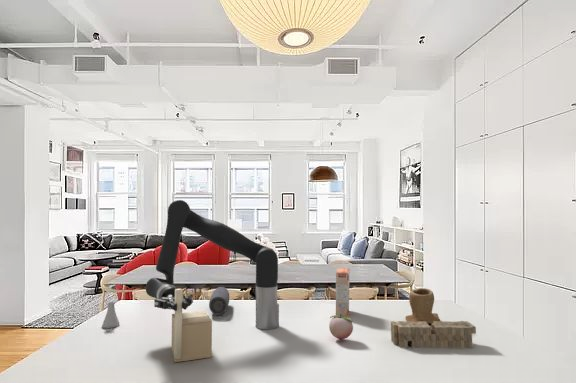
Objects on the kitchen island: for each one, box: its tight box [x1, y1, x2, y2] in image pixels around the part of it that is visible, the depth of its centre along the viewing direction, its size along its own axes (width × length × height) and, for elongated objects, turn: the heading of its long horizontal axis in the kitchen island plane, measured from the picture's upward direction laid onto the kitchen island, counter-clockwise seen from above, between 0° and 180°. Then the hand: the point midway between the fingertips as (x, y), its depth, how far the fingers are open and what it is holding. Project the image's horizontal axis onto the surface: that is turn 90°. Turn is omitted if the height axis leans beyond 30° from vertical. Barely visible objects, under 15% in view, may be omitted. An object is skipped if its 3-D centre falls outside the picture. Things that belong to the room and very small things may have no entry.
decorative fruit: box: [328, 314, 354, 341], centre depth 150 cm, size 9×8×10 cm
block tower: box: [390, 320, 477, 349], centre depth 146 cm, size 8×8×29 cm
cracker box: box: [335, 267, 350, 318], centre depth 187 cm, size 14×6×21 cm, turn 168°
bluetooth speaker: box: [208, 286, 230, 315], centre depth 193 cm, size 23×9×10 cm, turn 6°
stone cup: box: [404, 287, 441, 325], centre depth 172 cm, size 15×12×15 cm
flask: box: [101, 301, 121, 329], centre depth 168 cm, size 7×7×10 cm
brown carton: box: [171, 310, 213, 356], centre depth 138 cm, size 12×14×12 cm
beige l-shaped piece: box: [173, 288, 213, 363], centre depth 130 cm, size 12×3×24 cm, turn 112°
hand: (180, 306), depth 126 cm, fingers closed on beige l-shaped piece, 2 cm apart
